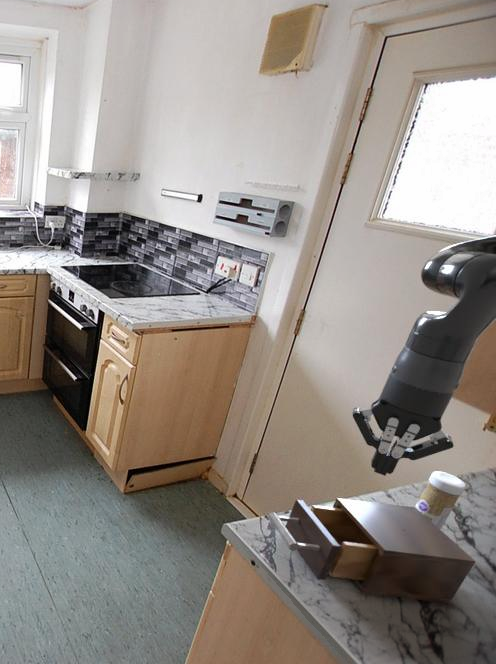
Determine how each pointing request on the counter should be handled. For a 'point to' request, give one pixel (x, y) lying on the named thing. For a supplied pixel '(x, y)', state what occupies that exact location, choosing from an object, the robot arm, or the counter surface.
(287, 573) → the counter surface
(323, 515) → the drawer
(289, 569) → the counter surface
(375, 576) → the cabinet
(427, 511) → the sprinkles bottle
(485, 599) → the counter surface
